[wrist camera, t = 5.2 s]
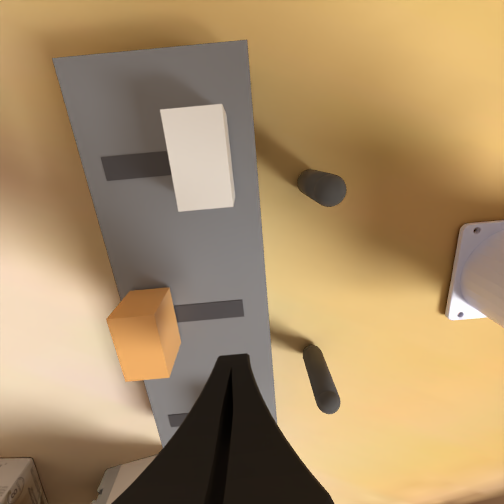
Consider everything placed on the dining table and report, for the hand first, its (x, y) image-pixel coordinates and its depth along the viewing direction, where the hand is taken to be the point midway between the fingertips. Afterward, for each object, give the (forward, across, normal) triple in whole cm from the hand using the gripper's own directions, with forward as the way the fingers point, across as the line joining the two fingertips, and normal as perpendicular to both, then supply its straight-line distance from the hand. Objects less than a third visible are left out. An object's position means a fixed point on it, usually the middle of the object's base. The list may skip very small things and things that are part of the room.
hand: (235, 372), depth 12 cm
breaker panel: (+9, +3, 0) cm, 10 cm away
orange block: (+5, +5, 0) cm, 7 cm away
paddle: (+5, +1, -9) cm, 10 cm away
